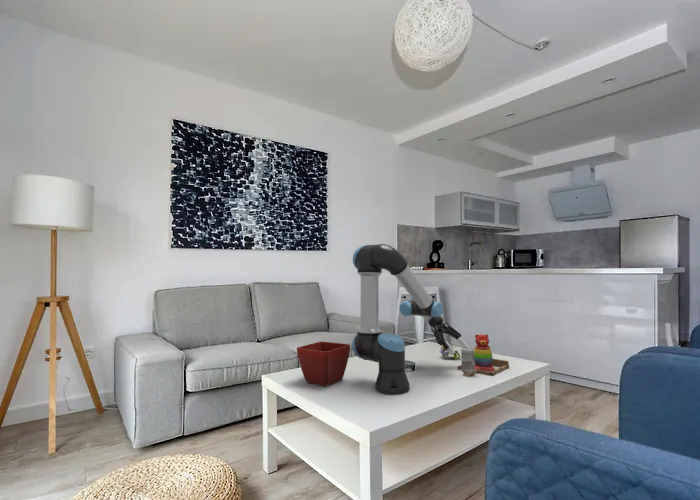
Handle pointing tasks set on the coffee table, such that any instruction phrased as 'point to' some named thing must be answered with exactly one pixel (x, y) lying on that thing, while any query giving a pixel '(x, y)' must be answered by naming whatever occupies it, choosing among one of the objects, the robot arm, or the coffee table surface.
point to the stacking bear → (483, 354)
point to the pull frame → (469, 362)
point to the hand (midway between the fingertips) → (460, 351)
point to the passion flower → (446, 353)
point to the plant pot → (323, 362)
